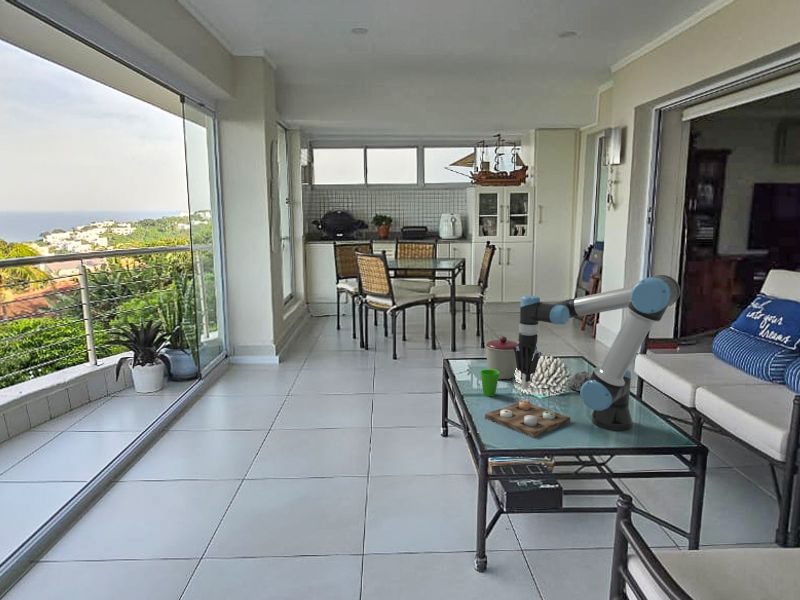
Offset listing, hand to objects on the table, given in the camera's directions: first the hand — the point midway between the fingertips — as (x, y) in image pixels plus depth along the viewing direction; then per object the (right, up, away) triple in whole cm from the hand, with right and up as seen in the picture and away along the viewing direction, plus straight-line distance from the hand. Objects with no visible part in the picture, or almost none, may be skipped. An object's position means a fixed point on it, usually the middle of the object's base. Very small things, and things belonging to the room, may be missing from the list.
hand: (525, 388), depth 227 cm
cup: (-11, -7, +23) cm, 27 cm away
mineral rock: (+34, -6, +30) cm, 45 cm away
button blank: (-1, -12, -15) cm, 19 cm away
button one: (-9, -11, -6) cm, 16 cm away
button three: (0, -9, +1) cm, 9 cm away
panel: (-1, -12, -7) cm, 14 cm away
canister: (0, -2, +50) cm, 50 cm away
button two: (+8, -12, -8) cm, 16 cm away
